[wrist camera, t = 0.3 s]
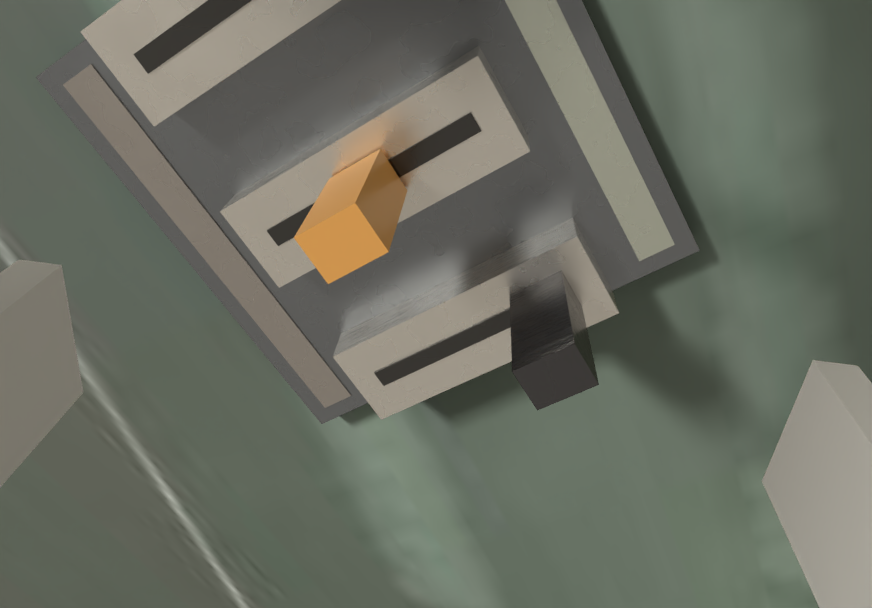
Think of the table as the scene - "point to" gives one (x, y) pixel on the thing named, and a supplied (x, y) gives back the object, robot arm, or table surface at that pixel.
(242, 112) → the breaker panel
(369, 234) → the breaker handle
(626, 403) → the table surface
